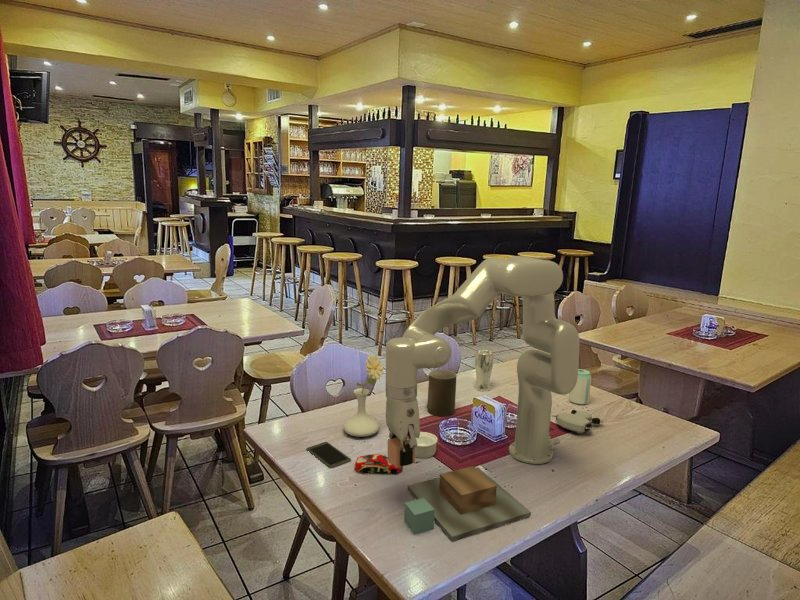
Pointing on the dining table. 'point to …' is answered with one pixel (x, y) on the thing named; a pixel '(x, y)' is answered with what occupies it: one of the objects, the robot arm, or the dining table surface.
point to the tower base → (471, 518)
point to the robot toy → (577, 421)
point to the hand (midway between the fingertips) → (401, 458)
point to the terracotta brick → (396, 451)
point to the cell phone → (328, 455)
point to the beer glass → (483, 369)
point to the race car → (376, 465)
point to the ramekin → (425, 445)
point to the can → (581, 388)
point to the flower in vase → (362, 421)
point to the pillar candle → (441, 393)
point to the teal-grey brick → (419, 516)
